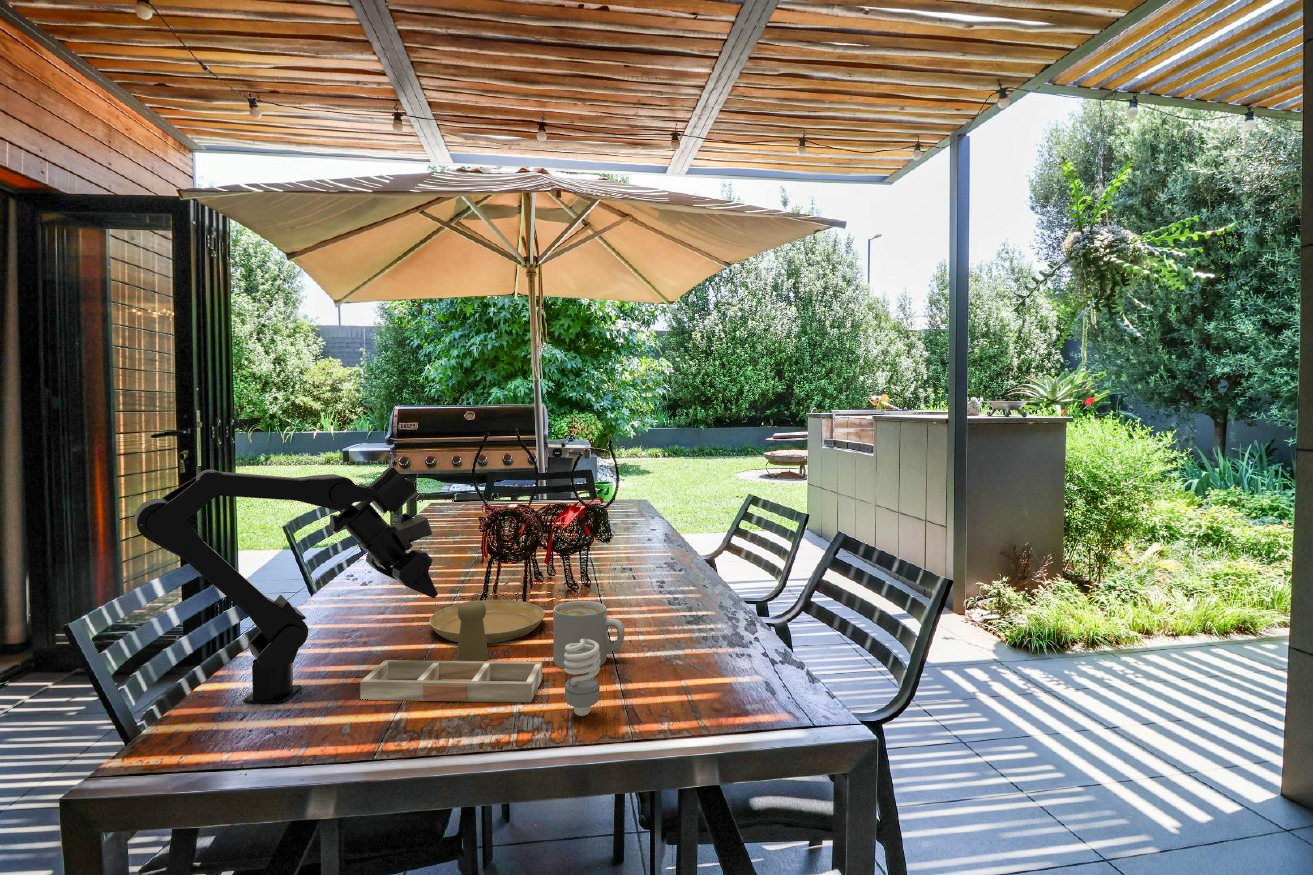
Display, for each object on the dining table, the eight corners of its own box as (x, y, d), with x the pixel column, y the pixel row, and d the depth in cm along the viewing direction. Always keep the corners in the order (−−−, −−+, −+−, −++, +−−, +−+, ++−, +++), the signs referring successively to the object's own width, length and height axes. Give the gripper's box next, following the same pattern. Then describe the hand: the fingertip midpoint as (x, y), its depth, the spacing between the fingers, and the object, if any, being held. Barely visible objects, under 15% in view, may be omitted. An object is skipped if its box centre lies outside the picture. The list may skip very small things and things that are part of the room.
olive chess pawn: (480, 666, 132) (479, 607, 132) (449, 664, 133) (449, 605, 133) (494, 655, 138) (493, 598, 138) (464, 653, 139) (464, 597, 139)
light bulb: (582, 705, 115) (582, 631, 115) (608, 715, 112) (608, 639, 111) (556, 717, 111) (556, 640, 110) (582, 727, 107) (581, 648, 107)
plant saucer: (508, 654, 140) (508, 637, 139) (404, 640, 147) (404, 625, 147) (563, 619, 162) (563, 605, 162) (471, 609, 170) (471, 595, 170)
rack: (530, 703, 116) (530, 684, 116) (359, 700, 117) (359, 682, 117) (542, 678, 126) (542, 661, 126) (385, 676, 127) (384, 659, 127)
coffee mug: (543, 665, 133) (543, 612, 132) (568, 648, 142) (568, 598, 142) (610, 675, 128) (610, 619, 128) (631, 656, 138) (631, 605, 137)
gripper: (426, 506, 124) (479, 568, 131) (389, 495, 139) (438, 552, 145) (375, 552, 119) (433, 615, 126) (342, 536, 133) (395, 593, 140)
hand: (425, 591), depth 134 cm, fingers open, 9 cm apart
